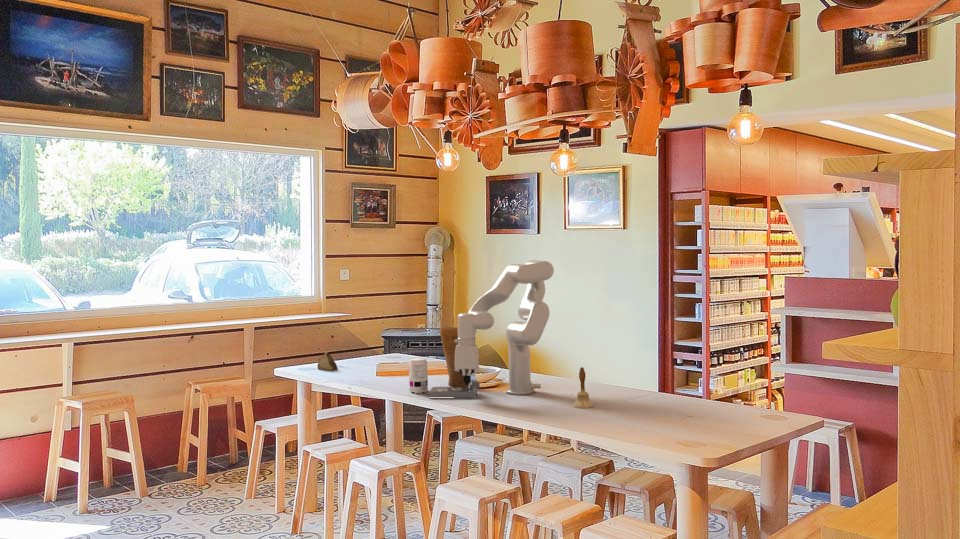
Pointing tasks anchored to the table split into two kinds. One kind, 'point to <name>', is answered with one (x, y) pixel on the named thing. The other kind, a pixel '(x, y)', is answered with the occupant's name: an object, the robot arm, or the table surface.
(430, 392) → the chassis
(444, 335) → the pancake mix bag
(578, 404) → the hand bell
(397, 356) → the table surface
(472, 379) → the bar
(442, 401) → the table surface
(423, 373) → the supplement can
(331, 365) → the rock
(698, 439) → the table surface
